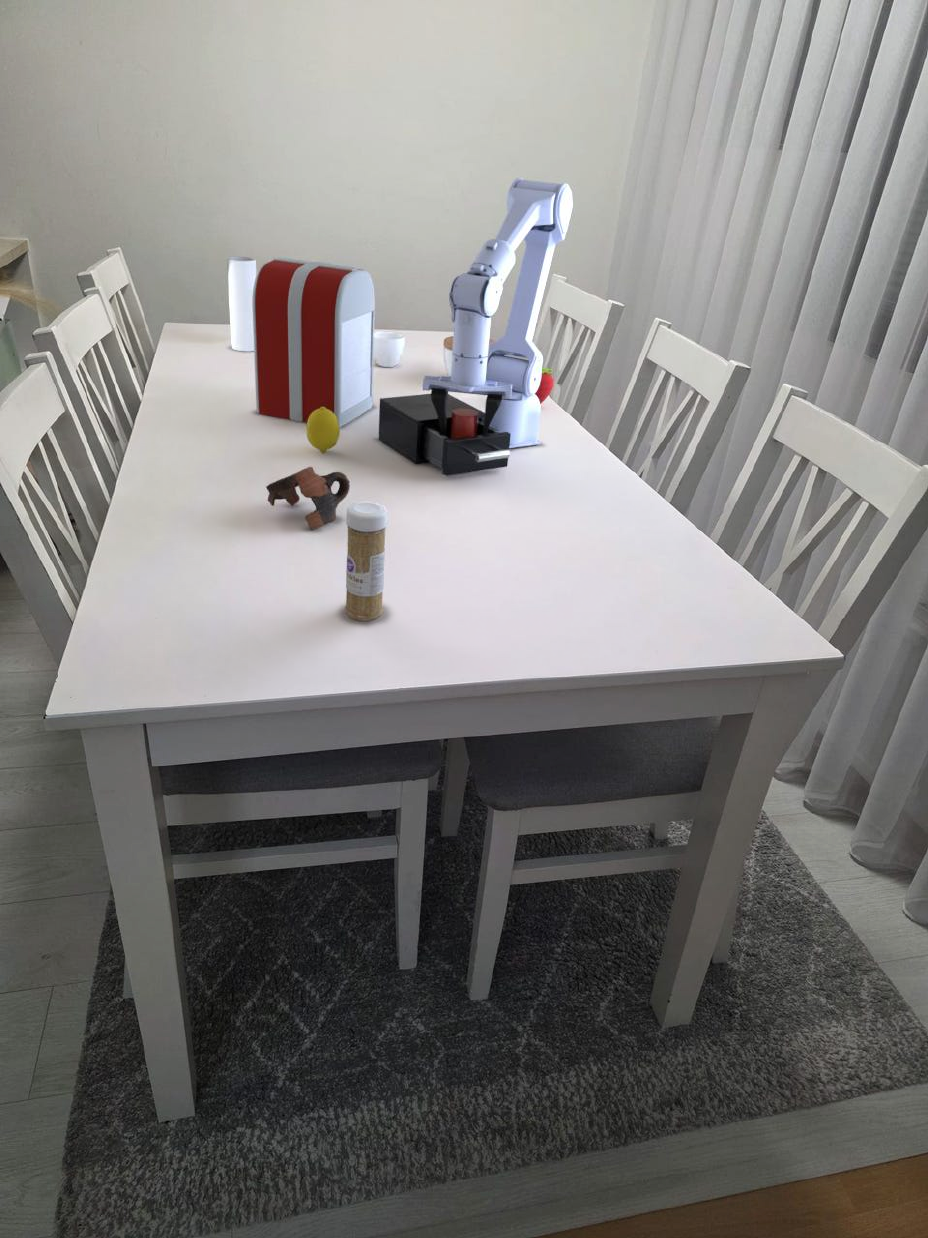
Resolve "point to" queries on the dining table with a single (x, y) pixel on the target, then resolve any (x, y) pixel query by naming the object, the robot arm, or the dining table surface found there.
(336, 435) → the lemon
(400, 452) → the warmer
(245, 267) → the vase
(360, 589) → the sprinkles bottle
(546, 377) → the strawberry
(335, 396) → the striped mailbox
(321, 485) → the broken mug
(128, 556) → the dining table surface
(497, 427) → the robot arm
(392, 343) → the cup
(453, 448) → the tray drawer
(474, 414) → the spice tin
